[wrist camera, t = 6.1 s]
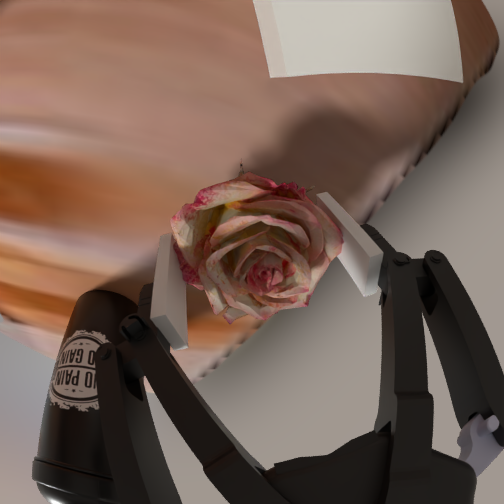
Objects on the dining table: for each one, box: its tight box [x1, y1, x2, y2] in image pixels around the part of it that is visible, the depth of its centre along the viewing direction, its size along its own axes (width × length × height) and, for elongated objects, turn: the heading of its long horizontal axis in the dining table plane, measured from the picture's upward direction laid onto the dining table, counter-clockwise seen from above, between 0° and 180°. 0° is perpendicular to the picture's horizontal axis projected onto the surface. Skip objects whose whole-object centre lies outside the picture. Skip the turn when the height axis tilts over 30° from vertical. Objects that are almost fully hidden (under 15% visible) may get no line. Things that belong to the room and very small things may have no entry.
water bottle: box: [32, 290, 144, 504], centre depth 17 cm, size 10×10×23 cm
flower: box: [170, 158, 344, 324], centre depth 16 cm, size 10×9×8 cm
